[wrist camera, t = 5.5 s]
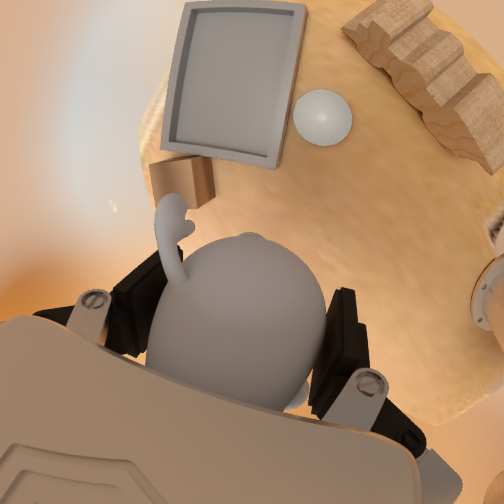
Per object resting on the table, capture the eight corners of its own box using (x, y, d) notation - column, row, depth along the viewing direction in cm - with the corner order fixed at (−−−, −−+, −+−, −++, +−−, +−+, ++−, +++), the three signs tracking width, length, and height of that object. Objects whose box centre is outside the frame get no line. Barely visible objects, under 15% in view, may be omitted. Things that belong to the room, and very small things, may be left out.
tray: (307, 12, 20) (306, 4, 18) (278, 166, 28) (275, 169, 26) (193, 8, 22) (185, 2, 20) (170, 147, 30) (160, 149, 28)
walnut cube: (210, 153, 30) (190, 159, 25) (215, 196, 32) (197, 208, 27) (172, 158, 31) (148, 164, 27) (178, 198, 33) (156, 210, 29)
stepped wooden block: (373, 11, 18) (389, -33, 9) (479, 131, 20) (531, 140, 12) (340, 37, 21) (344, -3, 12) (449, 160, 23) (496, 177, 14)
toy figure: (168, 203, 14) (-31, 344, 4) (266, 139, 12) (-29, 253, 1) (267, 349, 17) (202, 530, 7) (361, 318, 14) (357, 544, 4)
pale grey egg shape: (352, 103, 24) (357, 97, 19) (342, 148, 26) (345, 152, 22) (303, 91, 24) (298, 83, 20) (294, 136, 27) (288, 138, 22)
